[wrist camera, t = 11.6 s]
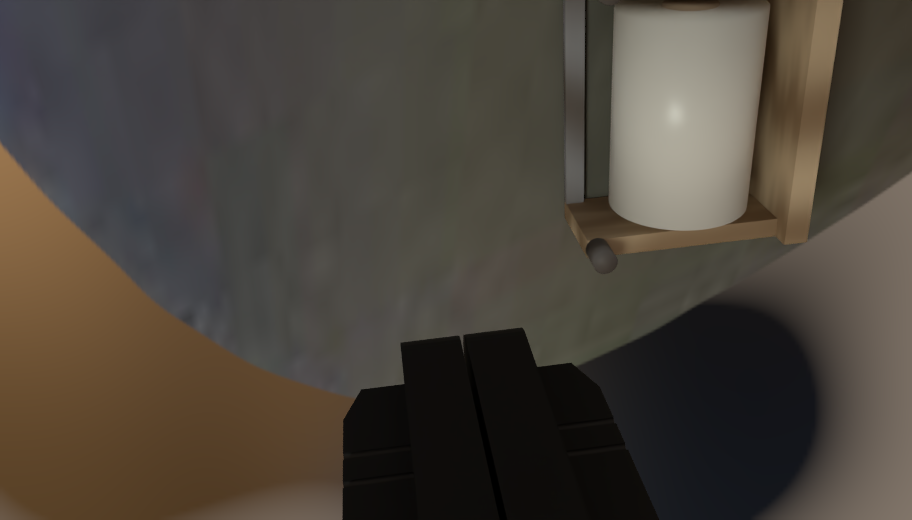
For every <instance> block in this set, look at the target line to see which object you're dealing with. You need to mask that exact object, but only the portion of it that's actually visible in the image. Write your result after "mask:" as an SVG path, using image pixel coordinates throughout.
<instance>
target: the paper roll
mask: <svg viewBox="0 0 912 520" xmlns="http://www.w3.org/2000/svg"><path fill="white" fill-rule="evenodd" d="M769 13H770V3H769V2H768V1H767V0H621V1H620V2H618V3H617V4H615V6H614V25H613V60H612V96H611V131H610V166H609V204H610V207H611V208H612V209H613V211H614V212H616V213H617V214H618V215H620V216H621V217H623V218H625V219H627V220H629V221H631V222H634V223H637V224H640V225H643V226H647V227H652V228H657V229H665V230H677V231H691V230H703V229H710V228H715V227H719V226H723V225H726V224H729V223H731V222H733V221H735V220H737V219H738V218H740V217H741V216H742V215H743V214H744V213H745V211H746V208H747V202H748V193H749V185H750V176H751V168H752V159H753V150H754V142H755V133H756V125H757V116H758V108H759V99H760V91H761V82H762V73H763V65H764V56H765V48H766V39H767V31H768V22H769Z"/></svg>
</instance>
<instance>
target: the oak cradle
mask: <svg viewBox="0 0 912 520" xmlns="http://www.w3.org/2000/svg"><path fill="white" fill-rule="evenodd" d="M598 1H600V2H601V3H603V4H605V5H609V6H611V5H615V4H617V3H618V2H620V1H621V0H598ZM767 1H768V2H769V3H770V13H769V22H768V31H767V39H766V48H765V56H764V65H763V73H762V82H761V91H760V99H759V108H758V116H757V125H756V133H755V142H754V150H753V159H752V168H751V176H750V185H749V193H748V202H747V208H746V211H745V213H744V214H743V215H742V216H741V217H740V218H738V219H737V220H735V221H733V222H731V223H729V224H726V225H723V226H719V227H715V228H710V229H703V230H691V231H677V230H665V229H657V228H652V227H647V226H643V225H640V224H637V223H634V222H631V221H629V220H627V219H625V218H623V217H621V216H620V215H618V214H617V213H616V212H614V211H613V209H612V208H611V207H610V204H609V196H607V197H598V198H589V199H584V100H585V0H563V33H564V176H565V219H566V220H567V222H568V224H569V226H570V228H571V229H572V231H573V233H574V235H575V237H576V238H577V240H578V242H579V244H580V246H581V248H582V249H583V251H584V253H585V255H586V257H587V258H589V259H590V261H591V263H592V265H593V266H594V268H595V270H596V271H597V272H599V273H601V274H607V273H610V272H612V271H613V270H614V269H615V268H616V266H617V263H618V260H617V257H616V256H615V255H619V254H627V253H636V252H644V251H653V250H661V249H670V248H678V247H687V246H695V245H704V244H712V243H721V242H729V241H738V240H746V239H755V238H763V237H772V236H776V237H777V238H778V239H779V240H780V241H781V242H782V243H783V244H784V245H786V244H794V243H803V242H807V238H808V231H809V225H810V218H811V211H812V205H813V198H814V192H815V185H816V178H817V172H818V165H819V158H820V152H821V145H822V138H823V132H824V125H825V119H826V112H827V105H828V99H829V92H830V85H831V79H832V72H833V65H834V59H835V52H836V45H837V39H838V32H839V26H840V19H841V12H842V6H843V0H767Z"/></svg>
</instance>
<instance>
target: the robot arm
mask: <svg viewBox="0 0 912 520" xmlns="http://www.w3.org/2000/svg"><path fill="white" fill-rule="evenodd" d="M463 347H464V354H463V349H462V345H461V340H460V337H459V336H451V337H443V338H435V339H427V340H419V341H411V342H403V343H401V353H402V363H403V373H404V383H405V384H402V385H394V386H386V387H378V388H370V389H362V390H361V391H360V393H359V394H358V396H357V398H356V400H355V401H354V403H353V405H352V406H351V408H350V410H349V411H348V413H347V415H346V417H345V418H344V420H343V454H344V455H343V456H344V460H343V485H344V488H343V520H659V518H658V516H657V514H656V511H655V509H654V507H653V505H652V503H651V500H650V498H649V496H648V494H647V491H646V489H645V487H644V485H643V482H642V480H641V478H640V476H639V473H638V471H637V469H636V467H635V464H634V462H633V460H632V458H631V456H630V453H629V451H628V450H626V448H625V442H624V440H623V438H622V436H621V433H620V431H619V429H618V427H617V424H616V423H615V424H614V420H613V415H612V413H611V411H610V409H609V407H608V404H607V402H606V400H605V398H604V395H603V393H602V391H601V389H600V387H599V386H598V385H597V384H596V383H594V382H593V381H592V380H591V379H590V378H589V377H587V376H586V375H585V374H584V373H582V372H581V371H580V370H579V369H578V368H577V367H575V366H574V365H573V364H572V363H566V364H558V365H550V366H542V367H537V365H536V363H535V360H534V357H533V354H532V351H531V348H530V345H529V343H528V340H527V337H526V334H525V331H524V330H523V328H515V329H506V330H498V331H490V332H482V333H474V334H466V335H464V336H463Z"/></svg>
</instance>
